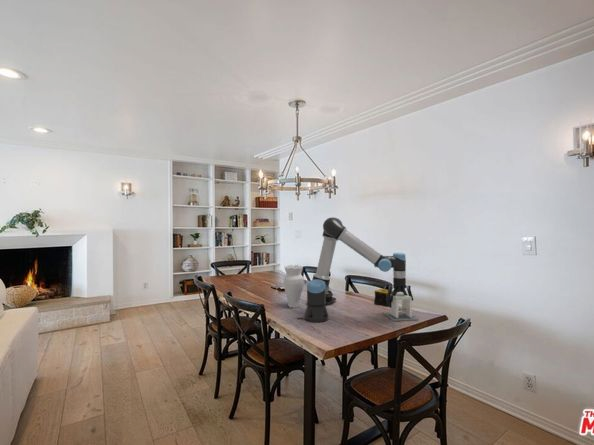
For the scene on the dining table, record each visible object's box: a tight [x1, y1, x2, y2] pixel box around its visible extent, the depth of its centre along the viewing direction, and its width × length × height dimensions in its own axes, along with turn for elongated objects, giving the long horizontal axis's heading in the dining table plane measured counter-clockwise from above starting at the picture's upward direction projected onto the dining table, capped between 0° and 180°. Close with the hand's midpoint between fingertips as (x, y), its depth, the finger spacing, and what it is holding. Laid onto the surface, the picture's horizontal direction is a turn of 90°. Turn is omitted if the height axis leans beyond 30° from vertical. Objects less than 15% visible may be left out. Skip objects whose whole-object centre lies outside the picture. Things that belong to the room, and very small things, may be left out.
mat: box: [382, 311, 419, 323], centre depth 190 cm, size 16×16×1 cm
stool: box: [388, 292, 413, 318], centre depth 189 cm, size 10×12×10 cm
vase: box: [283, 264, 305, 309], centre depth 215 cm, size 15×15×29 cm
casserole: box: [326, 289, 337, 305], centre depth 224 cm, size 25×19×8 cm
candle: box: [373, 288, 393, 307], centre depth 219 cm, size 10×10×10 cm
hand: (399, 312), depth 190 cm, fingers open, 10 cm apart
